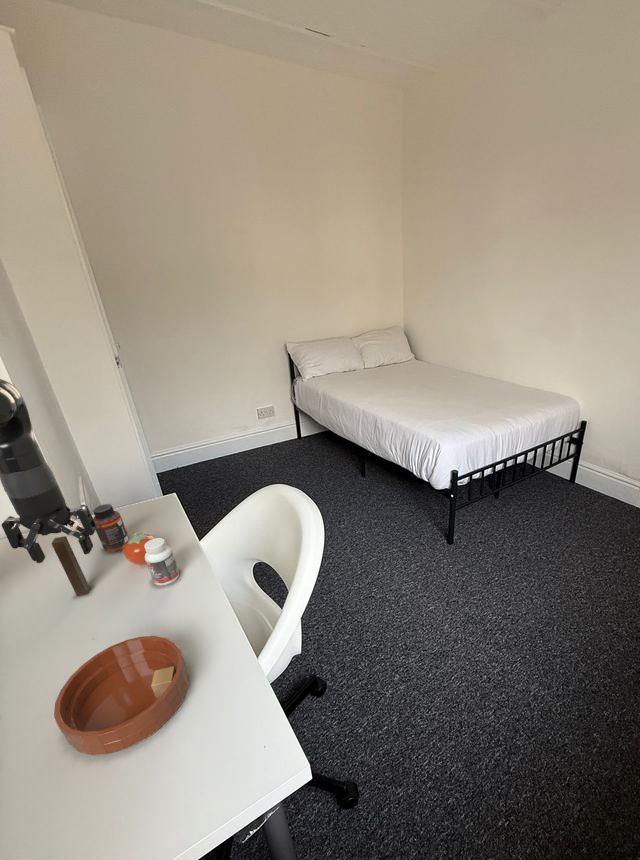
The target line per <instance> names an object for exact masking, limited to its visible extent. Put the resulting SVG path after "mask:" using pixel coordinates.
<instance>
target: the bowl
mask: <svg viewBox="0 0 640 860" xmlns="http://www.w3.org/2000/svg"><path fill="white" fill-rule="evenodd" d="M172 666H174V667H175V669H176V673H175V675H174V678H173V680H172V682H171V684H170V685H169V686H168V688H167V689H166V690H165V692H164V693H163V694H162V696H161V697H160V698H156V696H155V694H154V691H153V689H152V687H151V685H152V680H153V676H154V671H156V670H160V669H164V668H168V667H172ZM189 681H190V674H189V671H188V666H187V663H186V660H185V658H184V656H183V653H182V650H181V649H180V647H179V646H178V644H176V642H174V641H172V640H171V639H169V638H167V637H163V636H157V635H145V636H144V635H143V636H138V637H133V638H128V639H125V640H123V641H120V642H117V643H116V644H112V645H111V646H108V647H107V648H105V649H103V650H101V651H100V652H98V653H97V654H95V655H94V656H92V657H91V658H90V659H88V660H87V661H85V662H84V663H83V664H81V665H80V666H79V668H78V669H77V670H75V672H73V673H72V675H70V677H68V679H67V681H66V682H65V684H64V685H63V686H62V687H61V689H60V691H59V693H58V695H57V698H56V700H55V702H54V709H53V717H54V719H55V723H56V725H57V727H58V729H59V731H60V732H61V733H62V735H63V736H64V738H65V740H66V741H67V744H68V745H70V746H71V747H72V748H73V749H74V750H76V751H77V752H79V753H82V754H86V755H89V756H100V755H110V754H114V753H117V752H120V751H123V750H126V749H128V748H129V749H130V747H132V746H135V745H136V744H138V743H141V742H142V741H144V740H146V739H147V738H148V737H150V736H151V735H152V734H154V733H155V732H157V731H158V730H159V729H161V728H162V727H163V726H164V725H165V724H166V723H167V722H168V721H169V720H170V719H171V718H172V717H173V715H174V714H175V713H176V711H177V710H178V708H179V707H180V705H181V704H182V703H183V701H184V699H185V696H186V693H187V691H188V689H189Z"/></svg>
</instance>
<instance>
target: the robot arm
mask: <svg viewBox="0 0 640 860" xmlns="http://www.w3.org/2000/svg"><path fill="white" fill-rule="evenodd" d="M0 484H1V486H2V487H3V491H4V492H5V493H6V495H7V497H8V499H9V502H10V504H11V505H12V507H13V509H14V511H15V512H16V514H17V516H19V517H15V516H13V515H12V516H11V515H10V516H8V517H6V518H5V520H4V521H3V522H2V523H1V527H2V530H3V532H4V534H5V536H6V539H7V540H8V542H9V545H10V548H12V549H15V550H16V549H18V548H21V549H25V550H26V551H27V553H28V555H29V557H30V559H31V560H32V561H33V562H36V564H42V563H43V562H44V561H45V560H46V554H45V553H44V551H43V549H42V546H41V545H40V543H39V542H36V541H37V540H38V537H39V535H41V537H44V536H49V535H51V534H60V533H63V534H65V535H67V536H72V537H73V538H76V539H78V540H77V541H78V543H79V545H80V548H81V550H82V552H83V554H84V555H89V554H90V553H91V552H92V550H93V548H94V543H93V542H92V539H91V536H93V535H94V534H95V533H96V528H97V525H96V523H95V521H94V519H93V518H94V516H93V515H92V513H91V511H90V508H89V507H88V505H86V504H81V505H80V506H79V507H76V508H70V507H68V505H67V503H66V499H65V497H64V495H63V493H62V491H61V488H60V486H59V484H58V482H57V479H56V477H55V474H54V472H53V470H52V469H51V467H50V465H49V464H48V463H47V460H46V459H45V456H44V454H43V452H42V450H41V447H40V445H39V443H38V442H37V440H36V438H35V433H34V430H33V426H32V421H31V417H30V412H29V410H28V406H27V403H26V401H25V399H24V397H23V395H22V393H21V392H20V390H19V389H18V388H17V387H16V386H15V385H14V384H12V383H11V382H9V381H7V380H5V379H2V378H0ZM72 517H75V519H76V520H75V519H74V518H72ZM77 520H79V521H80V523H79V522H78V521H77ZM80 524H81V525H80ZM21 526H23V527H25V528H26V529H27V530H29V531H28V533H27V535H26V538H25V537H24V535H23V533H22V531H21V529H20V527H21Z"/></svg>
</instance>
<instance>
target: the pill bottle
mask: <svg viewBox="0 0 640 860" xmlns="http://www.w3.org/2000/svg"><path fill="white" fill-rule="evenodd" d="M144 547H145V551H146V554H145V561H146V563H147V564H146V565H147V568H148V571H149V573H150V576H151V579H152V581H153V583H154V584H155V585H156V586H168V585H170V584H172V583H173V582H175V581H176V580H177V579H178V578H179V577H180V571H179V568H178V565H177V561H176V559H175V556H174V553H173V549H172V548H171V547H170V546H169V545H167V543H166V541H165V539H164V538H162V537H155V539H152V540H149V541H148V542H146V544H145V545H144Z"/></svg>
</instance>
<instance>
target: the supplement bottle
mask: <svg viewBox="0 0 640 860" xmlns="http://www.w3.org/2000/svg"><path fill="white" fill-rule="evenodd" d="M92 511H93V519H94V521H95V523H96V525H97V528H96V530H95V533H96V535H97V537H98V540H99V542H100V544H101V546H102V548H103V550H104V551H105V552H108V553H113V552H114V553H115V552H118V551H122V550H123V545H124V544H125V543H126V541H127V540H129V539H130V536H129V533H128V531H127V529H126V526H125V523H124V521H123V518H122V515H121V514H120V512H119V511H117V510H115V509H114V507H113V505H112V504H110V503H104V504H100V505H98V506H96V507H94V509H92Z"/></svg>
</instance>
